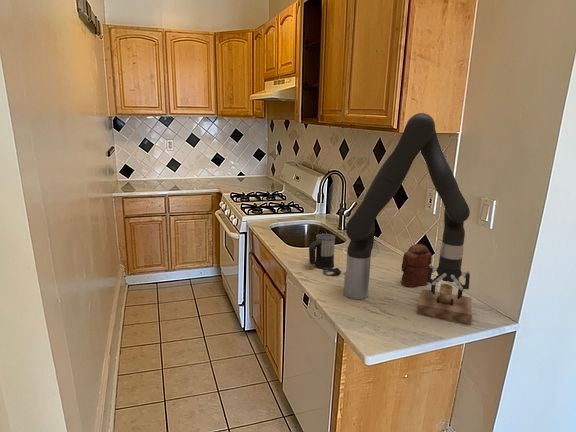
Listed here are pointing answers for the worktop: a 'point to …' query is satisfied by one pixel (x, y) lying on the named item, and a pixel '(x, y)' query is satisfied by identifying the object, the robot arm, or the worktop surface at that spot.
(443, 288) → the beech peg
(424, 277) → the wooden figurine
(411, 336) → the worktop surface
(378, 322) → the worktop surface
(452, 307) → the wooden board with hole
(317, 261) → the milk frother
